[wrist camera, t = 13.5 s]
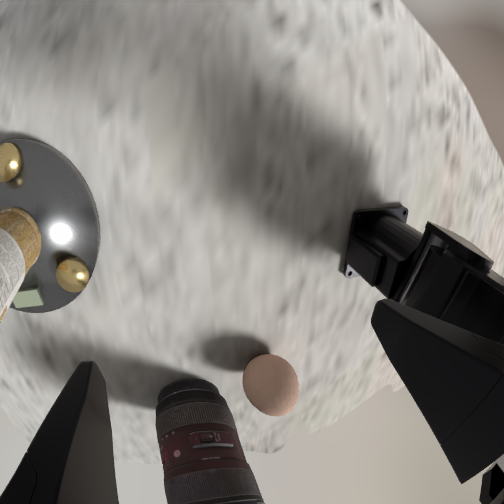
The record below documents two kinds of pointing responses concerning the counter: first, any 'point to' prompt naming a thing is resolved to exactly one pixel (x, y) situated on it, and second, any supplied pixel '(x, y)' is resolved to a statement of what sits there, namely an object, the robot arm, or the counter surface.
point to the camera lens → (201, 447)
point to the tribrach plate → (51, 222)
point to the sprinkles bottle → (16, 252)
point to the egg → (271, 385)
